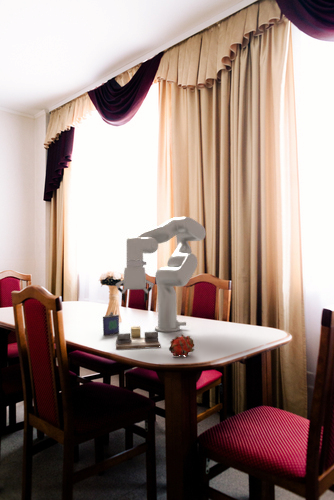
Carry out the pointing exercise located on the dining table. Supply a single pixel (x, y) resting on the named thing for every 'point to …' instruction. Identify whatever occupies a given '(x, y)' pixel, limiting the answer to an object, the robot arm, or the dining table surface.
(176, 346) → the dragon fruit
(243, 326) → the dining table surface
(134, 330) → the coupler
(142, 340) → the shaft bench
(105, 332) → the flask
